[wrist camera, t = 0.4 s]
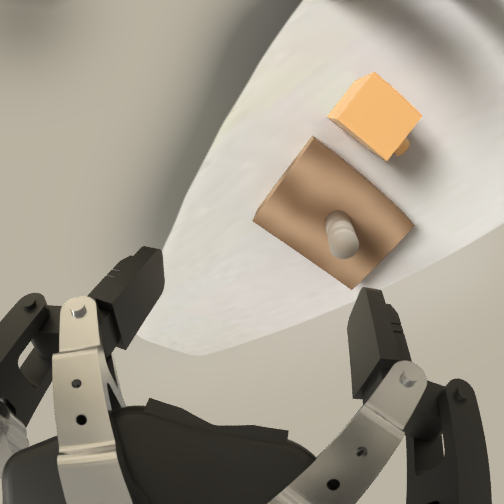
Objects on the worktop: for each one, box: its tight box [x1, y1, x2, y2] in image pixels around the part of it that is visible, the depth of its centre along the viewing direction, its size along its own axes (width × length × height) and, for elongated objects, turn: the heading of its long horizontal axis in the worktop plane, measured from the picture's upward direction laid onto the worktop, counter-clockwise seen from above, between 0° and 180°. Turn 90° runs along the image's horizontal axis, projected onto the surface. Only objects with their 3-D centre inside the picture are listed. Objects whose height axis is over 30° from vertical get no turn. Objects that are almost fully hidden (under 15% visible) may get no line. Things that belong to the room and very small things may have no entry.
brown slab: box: [253, 136, 415, 290], centre depth 31 cm, size 12×16×10 cm
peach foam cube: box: [327, 72, 422, 161], centre depth 25 cm, size 9×6×9 cm, turn 57°
